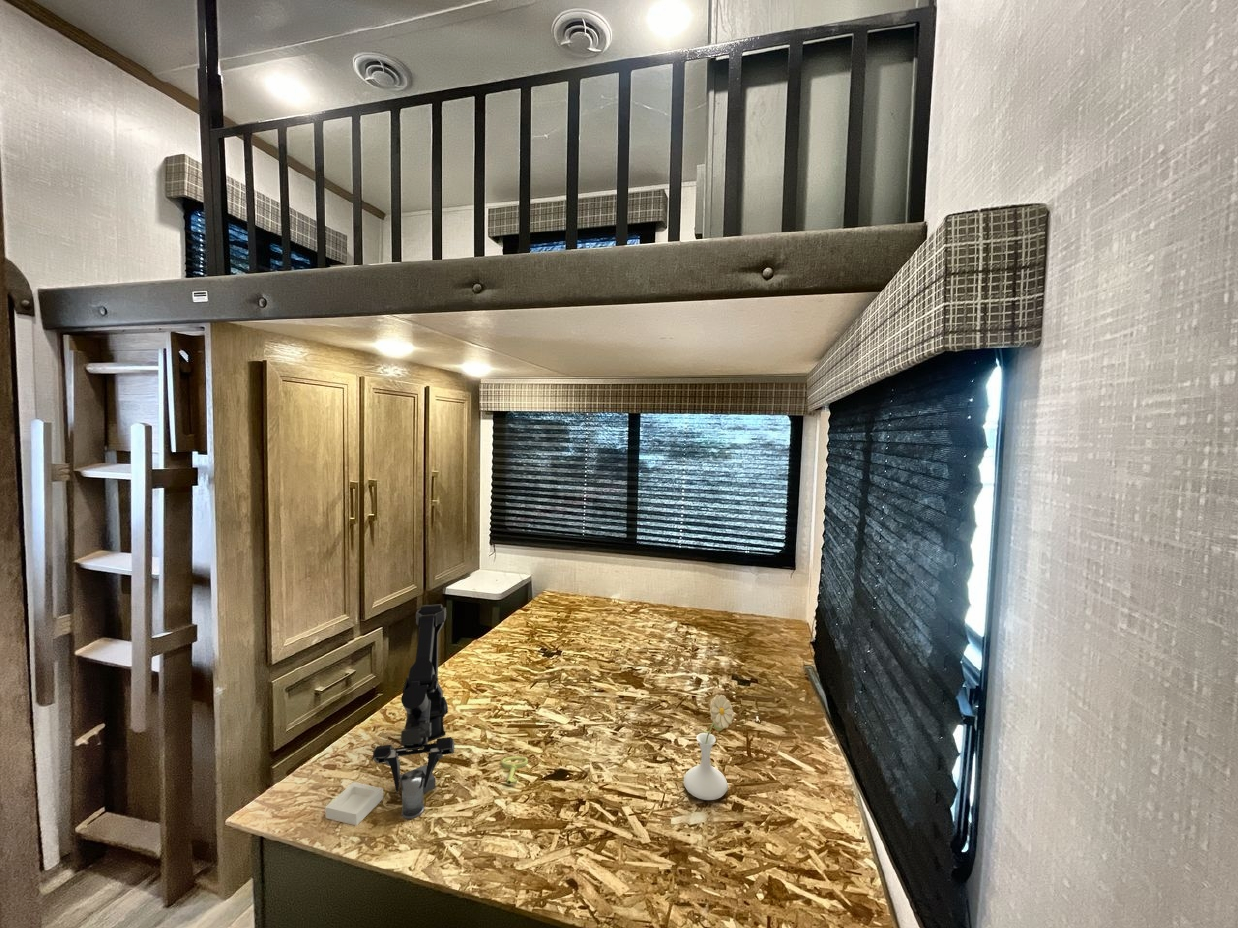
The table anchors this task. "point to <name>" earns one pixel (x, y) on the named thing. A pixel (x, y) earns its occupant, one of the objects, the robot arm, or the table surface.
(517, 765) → the key
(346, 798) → the tray
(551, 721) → the table surface
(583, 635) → the table surface
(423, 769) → the block
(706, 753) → the flower in vase
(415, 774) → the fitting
